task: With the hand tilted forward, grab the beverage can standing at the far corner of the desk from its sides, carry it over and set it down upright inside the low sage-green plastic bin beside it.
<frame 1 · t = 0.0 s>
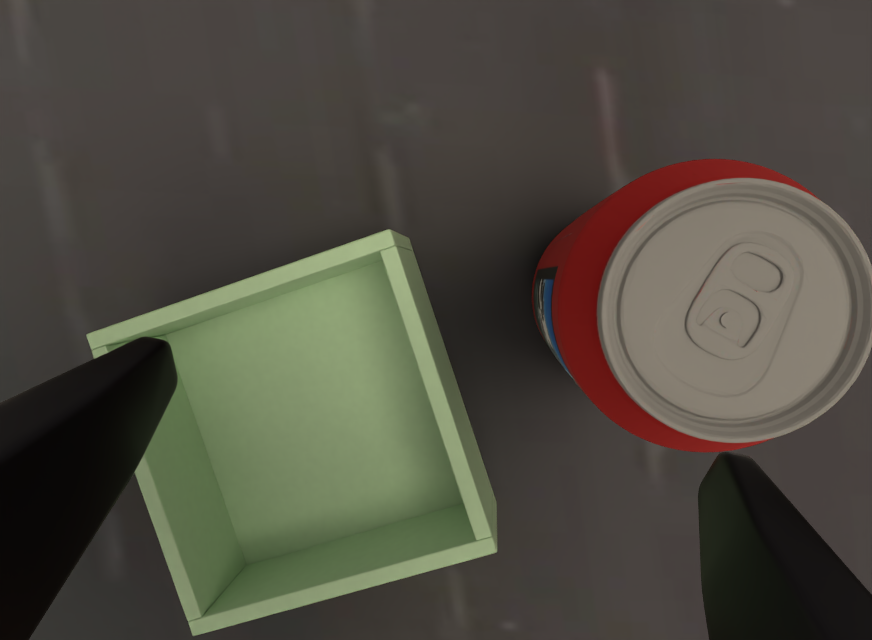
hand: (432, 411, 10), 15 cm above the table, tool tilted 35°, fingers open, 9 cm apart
bin: (323, 412, 25), on the table
beverage can: (613, 294, 24), on the table
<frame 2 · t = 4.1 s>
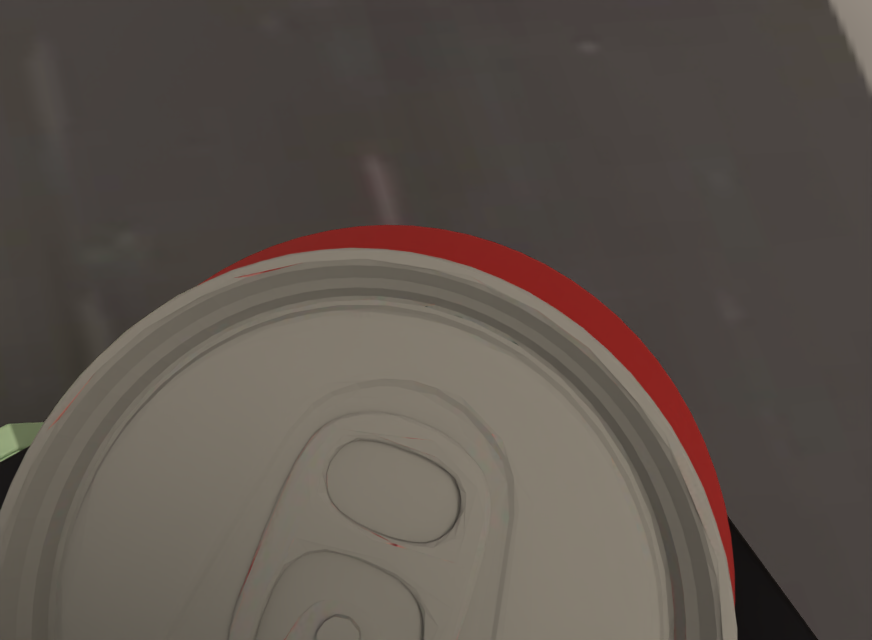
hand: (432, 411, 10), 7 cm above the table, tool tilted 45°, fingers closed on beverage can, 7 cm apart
beverage can: (437, 457, 16), on the table, touching gripper
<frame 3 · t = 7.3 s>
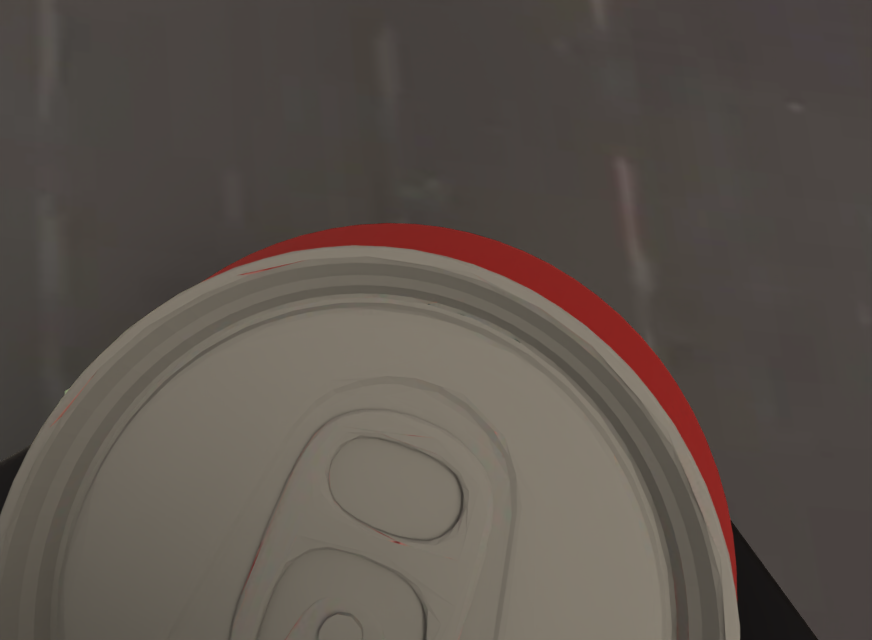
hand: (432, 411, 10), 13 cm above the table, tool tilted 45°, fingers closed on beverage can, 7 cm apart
beverage can: (438, 457, 16), point 7 cm above the table, touching gripper
when the fingers open (7 cm above the table, at t = 10.6 s): beverage can stays where it is, resting on bin.
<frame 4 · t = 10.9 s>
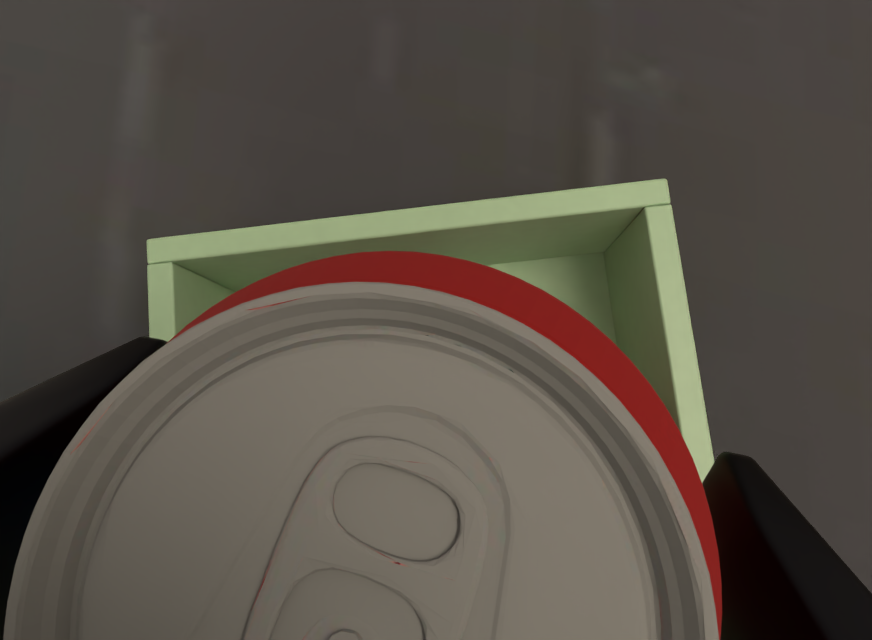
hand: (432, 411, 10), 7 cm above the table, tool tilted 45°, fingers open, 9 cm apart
bin: (439, 457, 17), on the table
beverage can: (437, 464, 16), resting on bin
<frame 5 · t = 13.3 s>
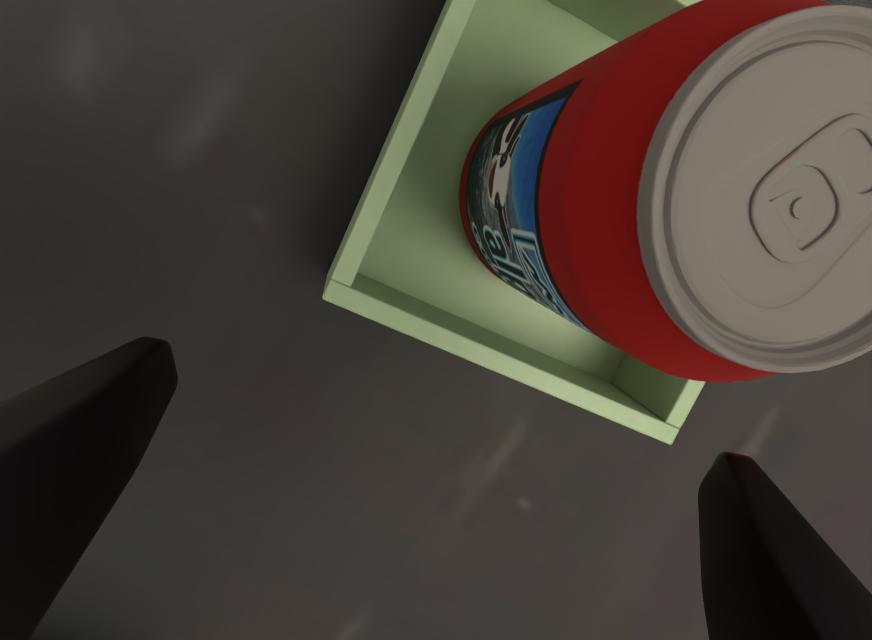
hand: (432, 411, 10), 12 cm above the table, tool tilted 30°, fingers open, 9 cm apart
bin: (547, 191, 21), on the table
beverage can: (547, 195, 20), resting on bin
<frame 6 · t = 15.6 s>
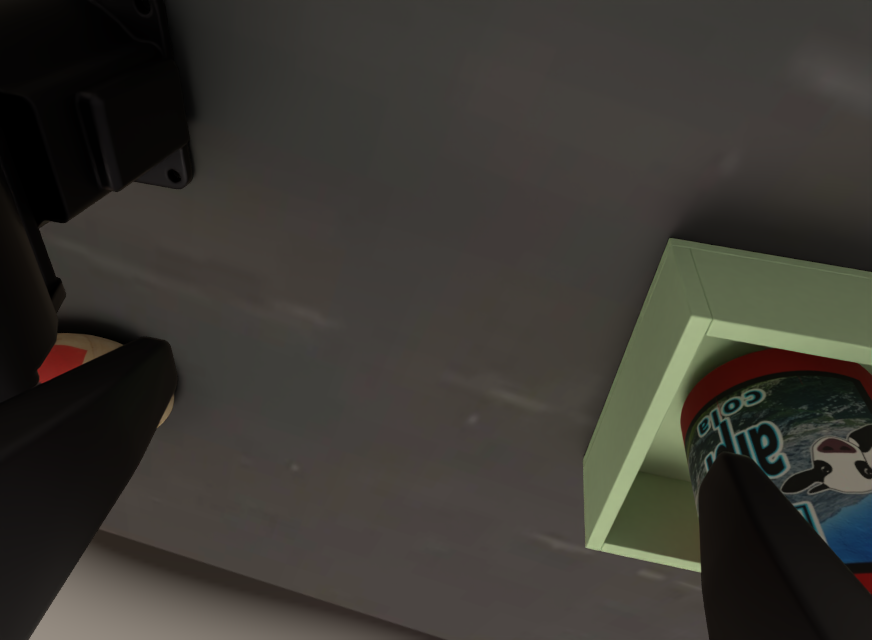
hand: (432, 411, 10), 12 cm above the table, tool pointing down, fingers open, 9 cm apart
bin: (770, 394, 23), on the table
ladybug figurine: (98, 375, 30), on the table
beverage can: (769, 398, 23), resting on bin
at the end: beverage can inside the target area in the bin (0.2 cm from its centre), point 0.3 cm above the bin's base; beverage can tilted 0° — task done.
